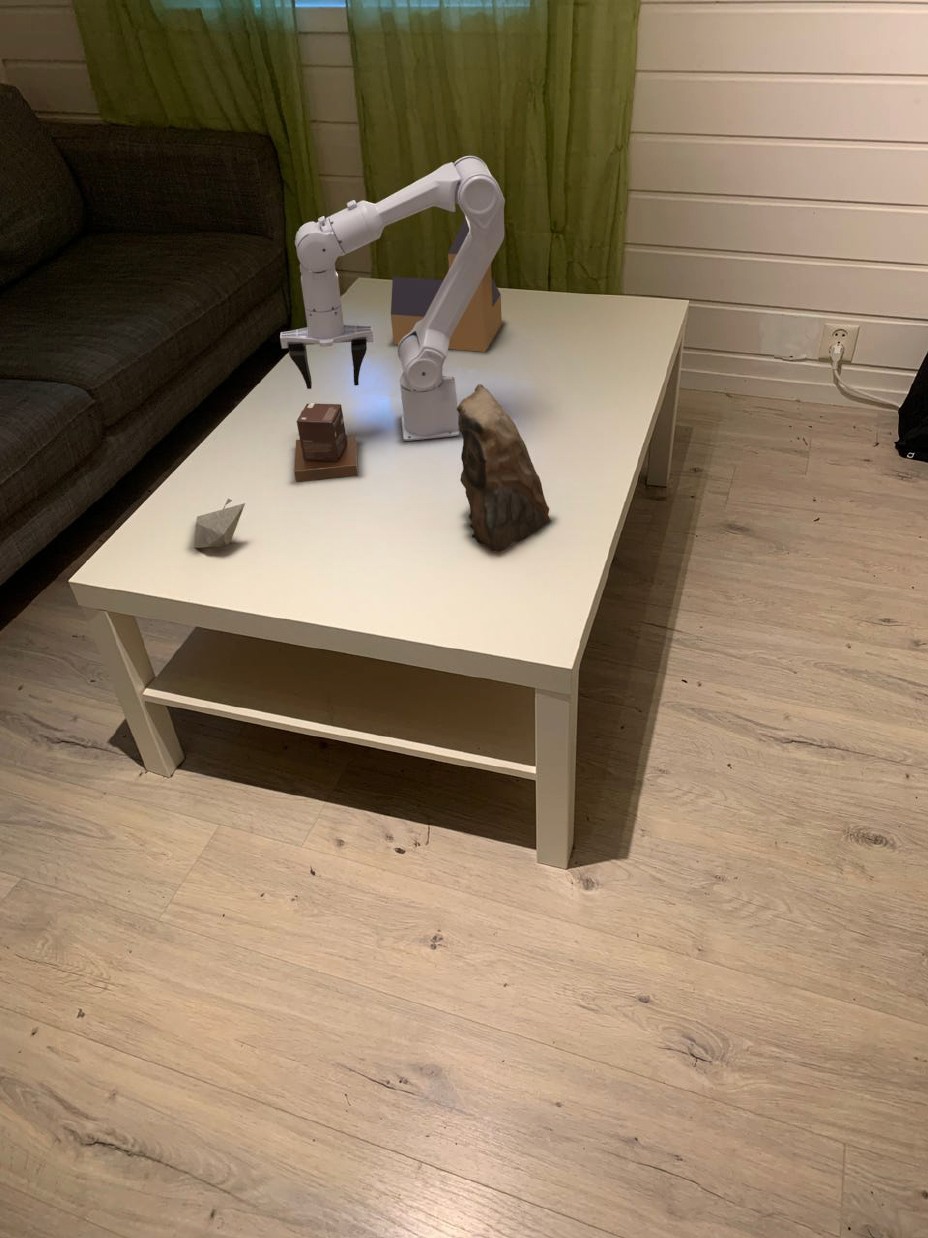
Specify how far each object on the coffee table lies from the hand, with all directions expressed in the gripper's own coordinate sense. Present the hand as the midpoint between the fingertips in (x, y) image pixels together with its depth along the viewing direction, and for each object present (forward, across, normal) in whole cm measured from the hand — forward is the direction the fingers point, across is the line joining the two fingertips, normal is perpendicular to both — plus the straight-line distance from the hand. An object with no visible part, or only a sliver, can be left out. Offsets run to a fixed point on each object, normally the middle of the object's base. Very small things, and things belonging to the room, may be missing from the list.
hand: (332, 384), depth 165 cm
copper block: (+10, -2, -7) cm, 13 cm away
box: (+9, -2, -7) cm, 11 cm away
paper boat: (+11, -18, -26) cm, 33 cm away
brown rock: (+10, +25, -30) cm, 40 cm away
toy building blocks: (+10, +22, +37) cm, 44 cm away
